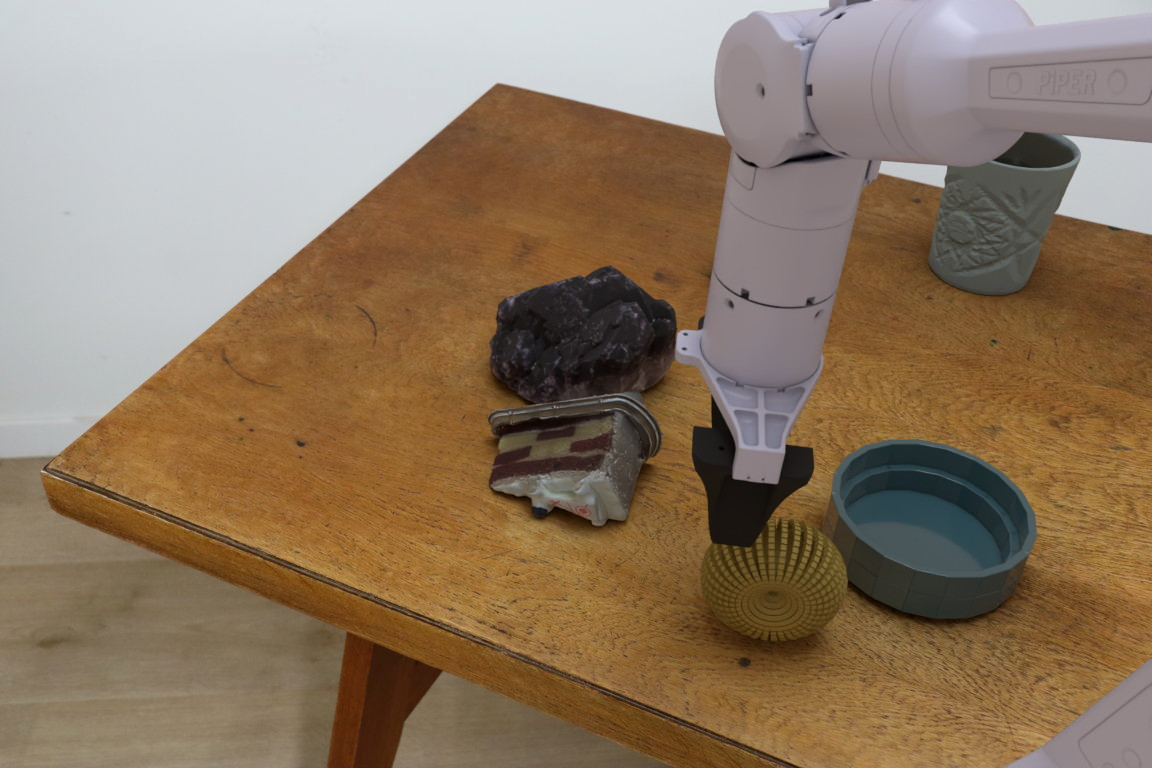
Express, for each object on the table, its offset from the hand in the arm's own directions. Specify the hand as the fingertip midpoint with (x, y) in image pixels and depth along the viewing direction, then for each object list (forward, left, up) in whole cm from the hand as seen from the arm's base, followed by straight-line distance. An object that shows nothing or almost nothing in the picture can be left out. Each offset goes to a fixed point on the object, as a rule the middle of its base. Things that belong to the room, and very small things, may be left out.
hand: (731, 488), depth 59 cm
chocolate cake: (+10, +8, -10) cm, 16 cm away
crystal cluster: (+23, +6, -10) cm, 26 cm away
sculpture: (-2, -3, -10) cm, 10 cm away
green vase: (+38, -30, -10) cm, 50 cm away
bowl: (+4, -14, -9) cm, 17 cm away
